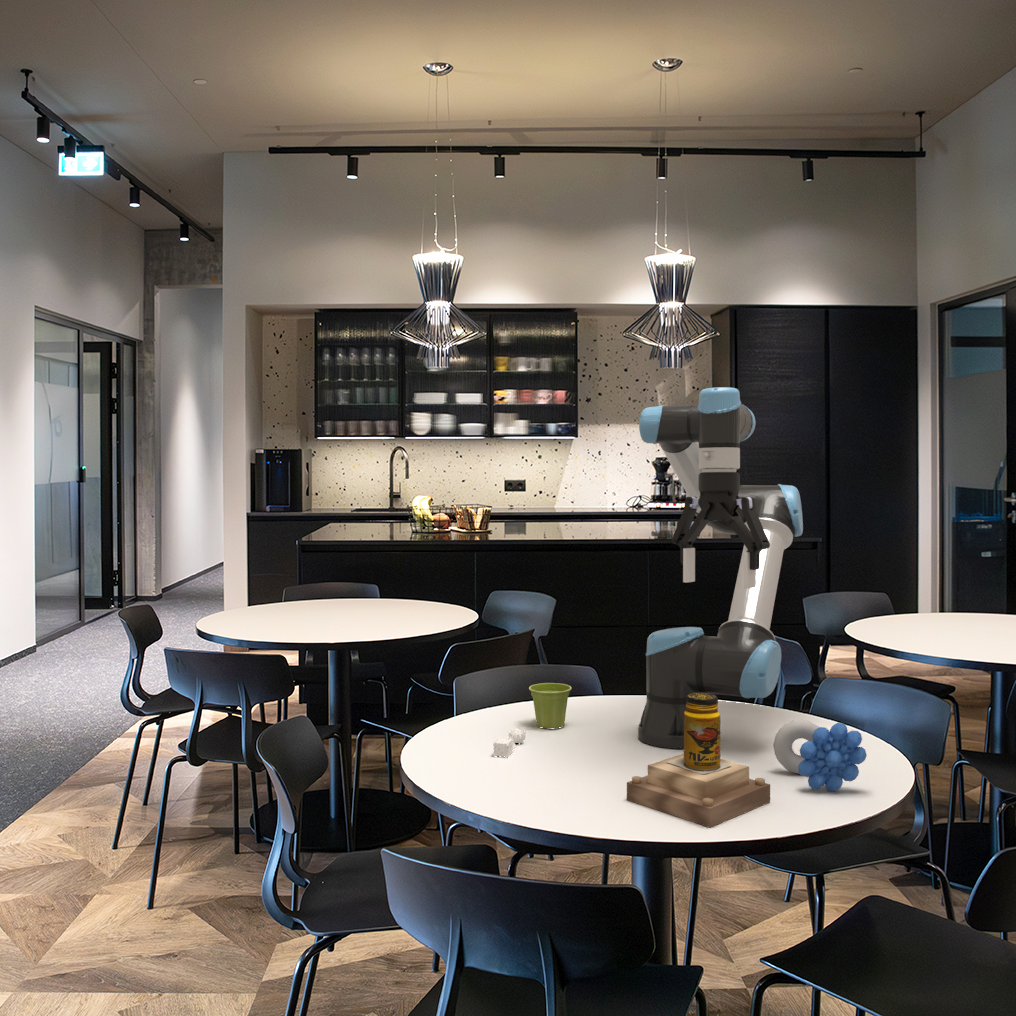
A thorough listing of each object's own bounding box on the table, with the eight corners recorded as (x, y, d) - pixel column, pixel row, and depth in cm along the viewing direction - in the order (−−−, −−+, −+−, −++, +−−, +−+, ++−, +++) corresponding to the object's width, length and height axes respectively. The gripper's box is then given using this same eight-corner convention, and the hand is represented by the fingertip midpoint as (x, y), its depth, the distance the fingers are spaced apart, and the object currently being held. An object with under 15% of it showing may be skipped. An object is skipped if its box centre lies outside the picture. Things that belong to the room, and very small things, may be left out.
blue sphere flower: (857, 783, 163) (858, 716, 163) (870, 796, 157) (871, 726, 156) (791, 782, 164) (792, 716, 164) (801, 795, 157) (802, 726, 157)
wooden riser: (626, 799, 155) (626, 764, 155) (688, 778, 167) (688, 745, 167) (709, 827, 143) (709, 789, 143) (770, 802, 154) (770, 766, 154)
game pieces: (508, 760, 179) (508, 743, 179) (492, 758, 180) (492, 742, 180) (527, 742, 191) (527, 727, 190) (512, 741, 192) (512, 726, 192)
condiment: (703, 775, 149) (703, 702, 149) (665, 762, 156) (665, 693, 156) (732, 766, 154) (732, 696, 154) (693, 755, 161) (694, 687, 160)
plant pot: (540, 733, 197) (540, 693, 196) (522, 723, 205) (522, 685, 205) (578, 729, 200) (578, 689, 200) (559, 719, 209) (559, 681, 209)
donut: (828, 772, 170) (828, 718, 170) (831, 778, 166) (831, 723, 166) (772, 769, 172) (772, 716, 171) (774, 775, 168) (774, 721, 168)
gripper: (653, 471, 177) (653, 581, 178) (766, 470, 159) (765, 592, 159) (677, 472, 182) (677, 578, 183) (789, 470, 164) (789, 588, 164)
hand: (718, 584), depth 171 cm, fingers open, 13 cm apart
